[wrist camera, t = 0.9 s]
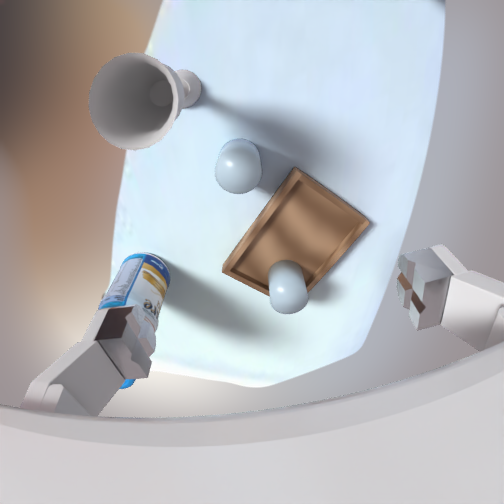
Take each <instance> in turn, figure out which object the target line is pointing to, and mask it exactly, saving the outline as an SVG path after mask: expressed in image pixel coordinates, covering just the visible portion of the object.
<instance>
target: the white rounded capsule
mask: <svg viewBox="0 0 504 504" xmlns="http://www.w3.org/2000/svg"><path fill="white" fill-rule="evenodd" d="M268 283H269V293H270V303H271V306H272V307H273V309H274V310H276V311H277V312H279V313H282V314H293V313H296V312H298V311H300V310H302V309H303V308H304V307H305V306H306V304H307V302H308V293H307V289H306V285H305V281H304V277H303V273H302V269H301V267H300V265H299V264H298V263H296V262H294V261H292V260H281V261H278V262H276V263H274V264H273V265H272V266H271V267H270V269H269V271H268Z"/></svg>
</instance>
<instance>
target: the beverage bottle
mask: <svg viewBox="0 0 504 504" xmlns="http://www.w3.org/2000/svg"><path fill="white" fill-rule="evenodd" d="M169 283H170V273H169V270H168V268H167V266H166V265H165V264H164V262H163V261H162V260H160V259H159V258H158V257H156V256H154V255H152V254H149V253H143V252H140V253H134V254H131V255H130V256H128V257H127V258H126V259H125V260H124V261H123V263H122V265H121V267H120V270H119V272H118V274H117V275H116V277H115V279H114V281H113V283H112V285H111V286H110V288H109V290H108V292H107V294H106V295H105V296H104V297H103V299H102V300H101V302H100V305H99V308H98V310H99V309H103V308H112V307H118V306H126V305H134V304H138V305H140V306H141V307H142V309H143V311H144V313H145V316H144V320H145V321H147V322H148V323H150V324H151V326H152V328H153V330H154V333H155V332H156V330H157V327H158V317H159V313H160V310H161V306H162V303H163V299H164V296H165V293H166V291H167V289H168V286H169ZM135 380H136V379H126V380H125V382H124V383H123V385H122V386H121V387H120V388H119V389H124V388H128V387H130V386H131V385H132V384H133V383H134V381H135Z"/></svg>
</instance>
